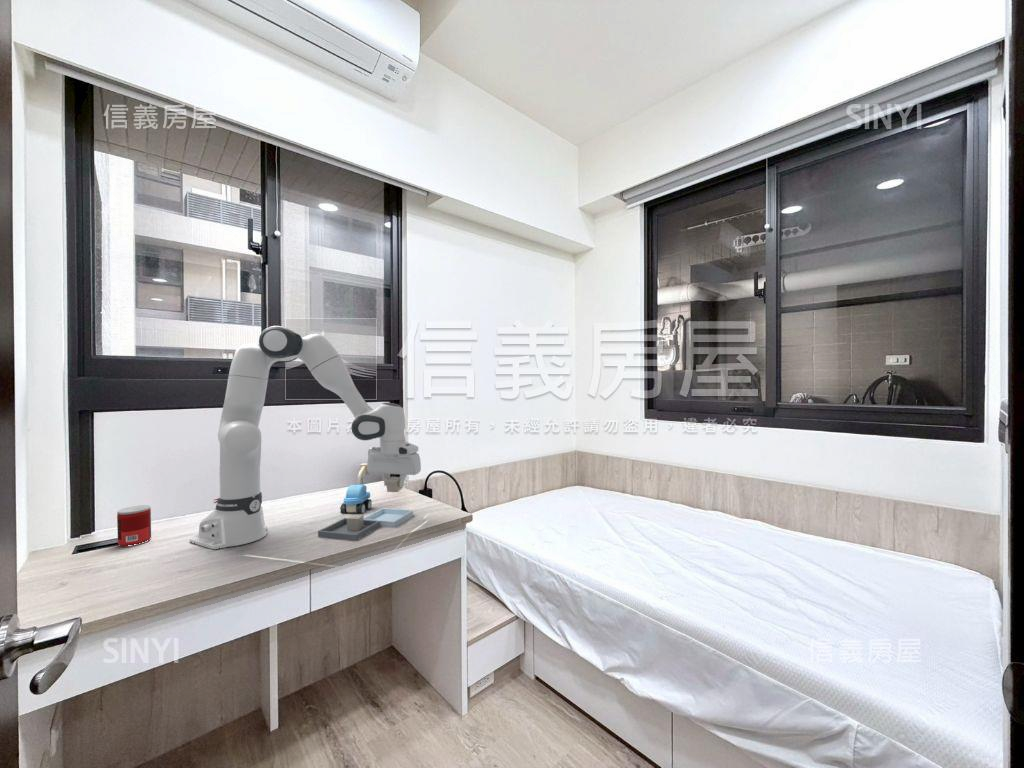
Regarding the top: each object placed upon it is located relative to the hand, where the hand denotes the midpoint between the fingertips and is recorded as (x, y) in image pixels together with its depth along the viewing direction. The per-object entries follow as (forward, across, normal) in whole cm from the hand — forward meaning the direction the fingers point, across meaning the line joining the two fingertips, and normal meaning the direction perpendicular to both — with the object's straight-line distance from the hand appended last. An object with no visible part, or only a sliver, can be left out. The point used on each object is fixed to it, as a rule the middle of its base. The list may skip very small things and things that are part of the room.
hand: (394, 485), depth 150 cm
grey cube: (+2, 0, +1) cm, 2 cm away
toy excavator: (+13, -22, +10) cm, 27 cm away
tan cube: (+12, -9, -11) cm, 18 cm away
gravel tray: (+13, -9, -14) cm, 21 cm away
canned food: (+13, -72, -37) cm, 82 cm away
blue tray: (+13, -3, 0) cm, 13 cm away
